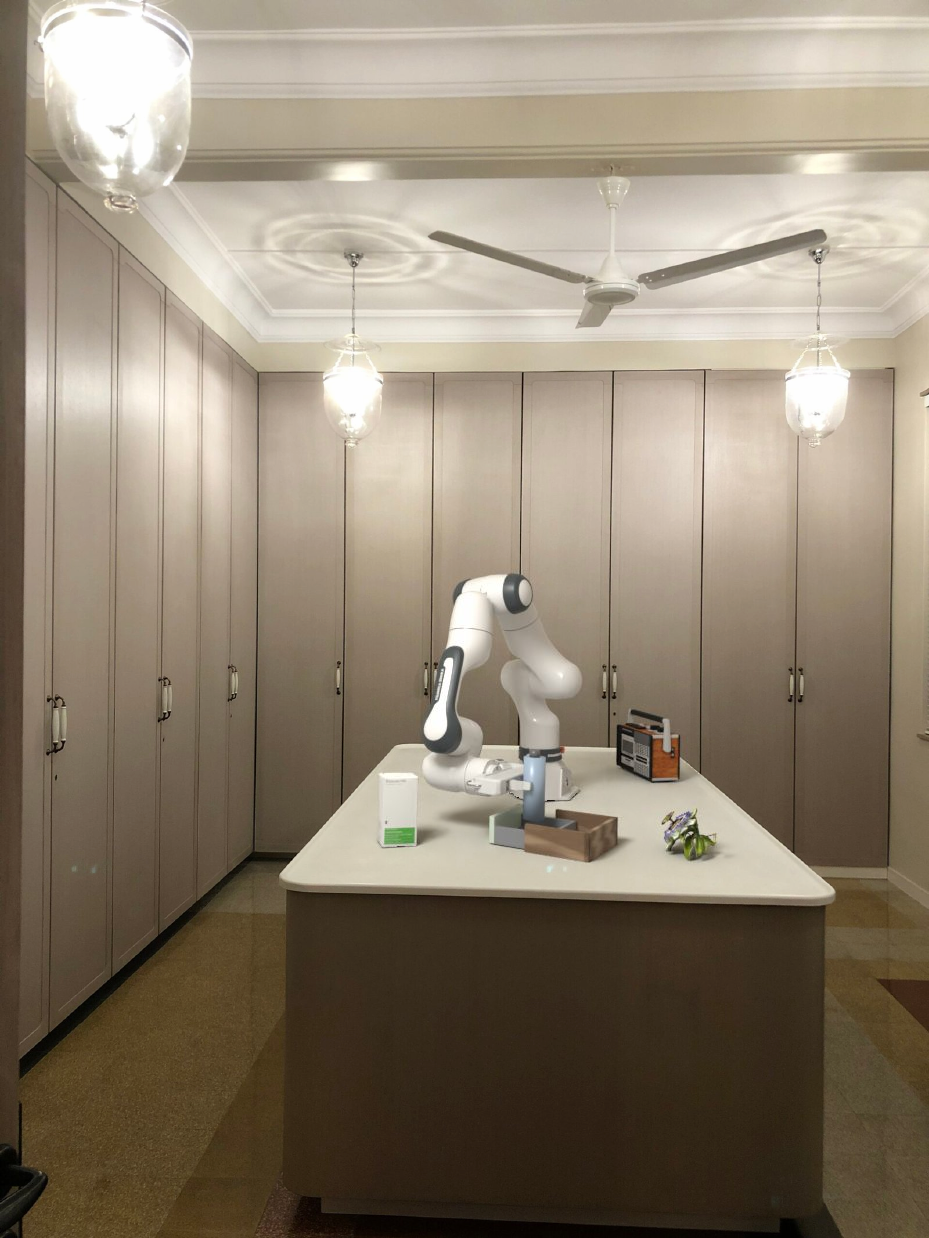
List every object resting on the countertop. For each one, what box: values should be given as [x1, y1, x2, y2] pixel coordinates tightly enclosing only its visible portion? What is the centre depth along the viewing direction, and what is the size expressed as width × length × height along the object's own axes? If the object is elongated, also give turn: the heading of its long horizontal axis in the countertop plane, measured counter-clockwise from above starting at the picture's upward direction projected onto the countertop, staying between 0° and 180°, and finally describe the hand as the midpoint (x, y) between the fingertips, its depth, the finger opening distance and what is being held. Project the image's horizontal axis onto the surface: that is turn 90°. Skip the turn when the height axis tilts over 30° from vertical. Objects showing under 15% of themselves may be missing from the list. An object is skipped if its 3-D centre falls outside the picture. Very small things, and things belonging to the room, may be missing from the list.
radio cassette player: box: [615, 708, 681, 783], centre depth 278 cm, size 29×10×20 cm, turn 13°
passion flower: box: [661, 807, 717, 861], centre depth 188 cm, size 11×11×12 cm
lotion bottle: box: [522, 749, 546, 821], centre depth 196 cm, size 5×5×16 cm
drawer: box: [488, 803, 576, 850], centre depth 196 cm, size 15×15×6 cm
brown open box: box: [523, 808, 619, 863], centre depth 192 cm, size 17×15×6 cm
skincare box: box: [376, 772, 419, 848], centre depth 194 cm, size 8×7×16 cm
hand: (537, 783), depth 196 cm, fingers closed on lotion bottle, 5 cm apart
